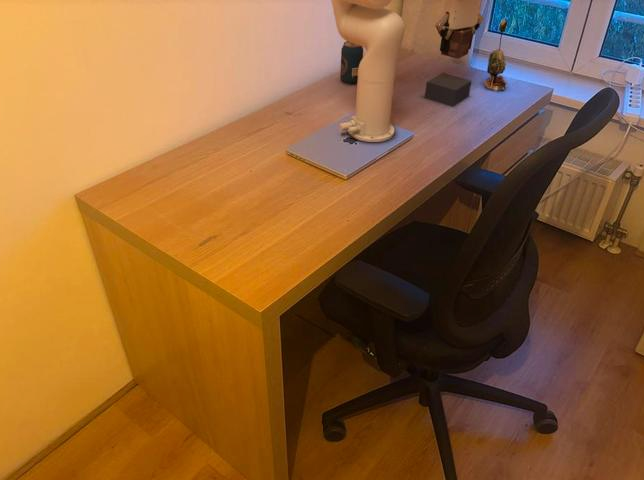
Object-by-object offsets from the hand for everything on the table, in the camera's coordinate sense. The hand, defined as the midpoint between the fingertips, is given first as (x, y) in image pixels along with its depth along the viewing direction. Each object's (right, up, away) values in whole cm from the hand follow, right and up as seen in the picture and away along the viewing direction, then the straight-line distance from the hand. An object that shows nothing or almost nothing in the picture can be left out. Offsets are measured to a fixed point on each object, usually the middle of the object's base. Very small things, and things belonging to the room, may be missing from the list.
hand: (455, 49), depth 158 cm
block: (0, -11, +9) cm, 14 cm away
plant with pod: (+17, -5, +16) cm, 24 cm away
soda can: (-30, -3, +18) cm, 35 cm away
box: (0, -1, +1) cm, 2 cm away
